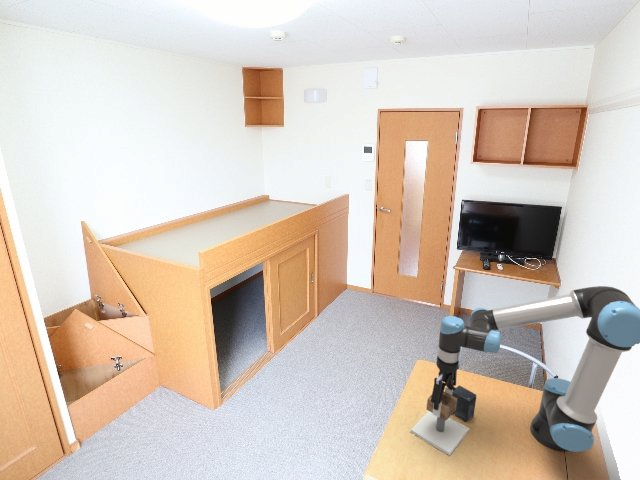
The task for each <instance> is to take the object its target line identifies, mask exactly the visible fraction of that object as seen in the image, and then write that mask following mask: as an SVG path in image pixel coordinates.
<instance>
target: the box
mask: <svg viewBox="0 0 640 480" xmlns="http://www.w3.org/2000/svg"><path fill="white" fill-rule="evenodd" d="M455 388H456V389H455V391H454V390H453V392H452V396H454V397H456V398H458V399H457V406H456V410H455V411H454V412H453V413H452V415H454V416H455V417H457V418H459V419H460V420H462V421H464V422H465V423H468V422H469V421H470V420H471V419H472V418H474V416H475V410H476V402H477V396H478V395H477V394H476V393H474V392H472V391H470V390H468V389H467V388H465V387H464V386H462V385H457V386H455Z"/></svg>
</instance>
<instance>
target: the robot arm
mask: <svg viewBox="0 0 640 480" xmlns="http://www.w3.org/2000/svg"><path fill="white" fill-rule="evenodd" d="M573 317H578V318H580V319H587V318H588V319H589V318H590V321H589V324H588V325H587V328H586V330H585V334H586V335H587V337H588V340H587V343H586V346H585V348H584V351H583V353H582V355H581V358H580V360H579V362H578V364H577V367H576V368H575V371H574V374H573V376H572V378H571V380H570V381H569V380H567V379H563V378H558V377H552V378H548V379H546V381H544V382H545V383H544V385H543V390H542V396H541V399H540V400H541V401H540V405H539V409H538V412H537V413H536V415H535V416H534V417H533V418H532V419H531V422H530V426H529V427H530V428H529V429H530V432H531V434H532V435H533V437H534V439H536V440H537V442H539V443H540V444H542V445H543V446H546V447H548V448H549V449H552V450H555V451H560V452H572V453H574V452H575V453H580V452H586V451H589V450H590V449H591V448H592V447H593V446H594V443H595V440H594V439H595V437H594V434H593V432H592V431H593V429H594V427H595V425H596V423H597V420H598V416H597V413H596V412H595V410H596V408H597V406H598V404H599V402H600V400H601V397H602V395H603V393H604V391H605V389H606V387H607V385H608V383H609V380H610V379H611V376H612V374H613V373H614V370H615V368H616V365H617V364H618V361H619V359H620V358H621V355H622V353H624V352H629V351H631V350H632V347H634V346H635V345H638V344H640V308H639V307H638V306H636V304H635V303H634V302H633V300H631V298H630V296H629V295H628V294H627V293H626V292H624V291H623V290H620V289H619V288H615V287H613V286H605V285H603V286H600V285H599V286H591V287H583V288H579V289H578V288H577V289H574V290H573V289H572V290H571V291H570V292H569V294H564V295H559V296H558V295H557V296H553V297H547V298H544V299H538V300H534V301H529V302H523V303H519V304H518V303H517V304H514V305H509V306H504V307H503V306H502V307H499V308H494V309H487V308H484V307H476V308H474V309H473V310H472V311H471V314H470V317H469V318H470V319H469V323H470V324H469V325H466V324H465V322H464V320H463V319H462V318H461V317H457V316H455V315H448V316H445V317H443V318H442V320H441V325H440V328H439V329H440V330H439V340H438V345H437V356H436V367H437V369H438V370H439V371H438V377H434V380H433V383H434V384H433V388H432V393H431V395H432V397H431V402H432V403H434V404H433V413H432V414H433V415H435V416H437V417H438V418H439V417H440V413H441V405H442V402H441V399H442V396H443V392H446V393H448V394H450V395H452V392H453V390H454V391H455V389H456V385H457V373H458V372H457V371H458V369H459V363H460V358H461V349H462V348H465V349H468V350H469V349H470V350H473V351H478V352H482V353H483V352H484V353H491V354H497V353H499V351H500V348H501V347H500V346H501V339H502V338H501V333H500V332H499V331H498V330H505V329H510V328H518V327H523V326H527V325H533V324H540V323H546V322H552V321H557V320H562V319H568V318H569V319H570V318H573Z"/></svg>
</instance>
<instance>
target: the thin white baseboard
mask: <svg viewBox="0 0 640 480" xmlns="http://www.w3.org/2000/svg"><path fill="white" fill-rule="evenodd" d="M469 431H470V428H469V427H467V426H465V425H464V424H462V423H460V422H458V421H456V420H454V419H452V418H451V417H449V418H448V419H447V420H444V419H442V418H440V417H439V418H438V417H437V416H435V415H433V414H432V412H430V411H428V410H427V412H426V413H425V414H424V415H423V416H422V417H421V418H420V419H419V420H418V421H417V422H416V424H415V425H413V426H412V428H411V429H410V433H411V434H413V435H414V436H416V437H417V438H419V439H421V440H423V441H424V442H425V443H428V444H429V445H430V446H433V447H435V448H436V449H438V450H439V451H441V452H442V453H444V454H446V455H447V456H449V457H450V456H451V455H452V454H453V452H454V451H456V449H457V447H458V445H460V444H461V442H462V441H463V440H464V438H465V437H466V435H467V434H468V432H469Z"/></svg>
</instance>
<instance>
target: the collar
mask: <svg viewBox="0 0 640 480" xmlns="http://www.w3.org/2000/svg"><path fill="white" fill-rule="evenodd" d="M431 397H432V394H430V396H429V397H428V398H427V401H426V411H427V412H428V411H430V412H432V413H433V404H434V403H432V402H431ZM457 399H458V398H456V397H454V396H452V395H450V394H448V393H446V392H445V391H444V392H443V396H442V399H441V402H442V405H441V413H440V418H442V419H444V420H447V419H448V418H451V416H452V415H453V414H452V413H453V412H454V411H455V410H456V406H457Z"/></svg>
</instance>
